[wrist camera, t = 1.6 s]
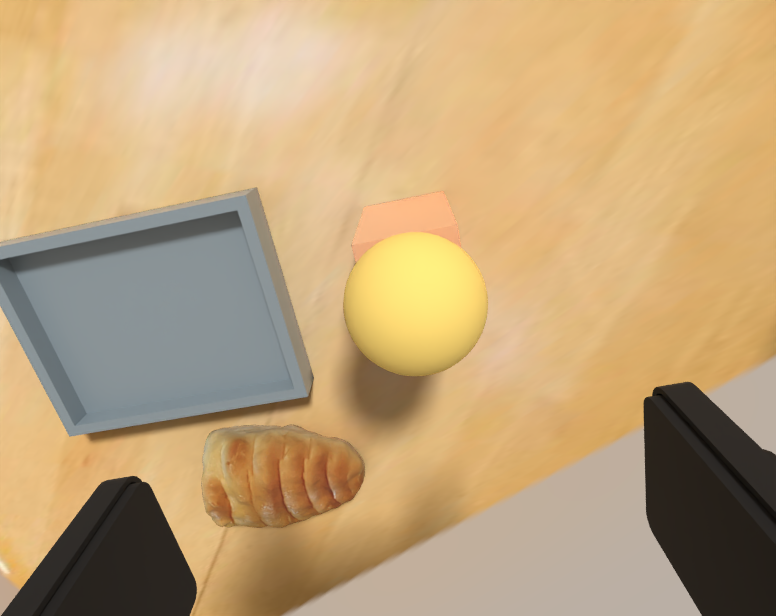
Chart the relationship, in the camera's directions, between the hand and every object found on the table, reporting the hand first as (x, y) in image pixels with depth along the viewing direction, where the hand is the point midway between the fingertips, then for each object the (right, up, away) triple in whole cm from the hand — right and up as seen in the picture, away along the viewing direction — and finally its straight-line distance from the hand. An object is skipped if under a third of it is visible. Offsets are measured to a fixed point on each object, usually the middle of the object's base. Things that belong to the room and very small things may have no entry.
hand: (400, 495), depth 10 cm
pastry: (-7, -6, +23) cm, 25 cm away
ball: (+1, +4, +8) cm, 9 cm away
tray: (-12, +3, +19) cm, 23 cm away
